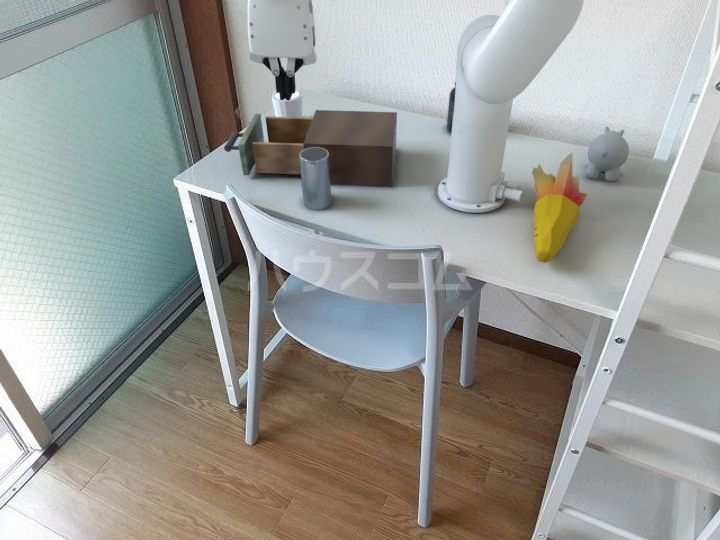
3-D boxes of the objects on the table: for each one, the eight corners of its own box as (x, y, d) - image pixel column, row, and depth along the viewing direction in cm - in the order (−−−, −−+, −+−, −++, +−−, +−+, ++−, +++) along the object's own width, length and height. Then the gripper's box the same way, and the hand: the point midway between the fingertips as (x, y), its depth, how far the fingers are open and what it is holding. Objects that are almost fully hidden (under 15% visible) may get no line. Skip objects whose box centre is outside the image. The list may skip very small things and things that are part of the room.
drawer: (222, 174, 114) (216, 143, 109) (240, 142, 124) (235, 112, 120) (321, 178, 112) (319, 146, 108) (330, 145, 122) (329, 115, 118)
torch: (530, 286, 94) (548, 191, 110) (580, 279, 89) (592, 181, 105) (512, 250, 89) (534, 157, 105) (564, 241, 85) (578, 145, 101)
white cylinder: (303, 130, 130) (300, 100, 125) (272, 130, 130) (269, 100, 126) (305, 117, 135) (303, 88, 131) (276, 117, 135) (273, 88, 131)
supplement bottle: (481, 135, 127) (489, 81, 119) (452, 138, 126) (457, 85, 118) (470, 121, 132) (476, 69, 124) (442, 124, 131) (446, 72, 123)
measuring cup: (306, 194, 109) (302, 146, 103) (333, 195, 109) (330, 147, 102) (300, 213, 104) (295, 164, 98) (328, 214, 104) (325, 165, 98)
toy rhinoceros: (626, 159, 118) (638, 120, 112) (618, 187, 109) (631, 147, 104) (590, 152, 120) (600, 113, 115) (579, 179, 112) (589, 139, 107)
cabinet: (306, 183, 112) (303, 143, 107) (318, 147, 123) (315, 109, 118) (391, 187, 111) (392, 146, 105) (395, 150, 122) (396, 112, 117)
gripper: (330, -27, 88) (333, 90, 99) (234, -30, 88) (247, 86, 100) (324, -14, 82) (327, 108, 94) (220, -18, 83) (237, 104, 94)
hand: (286, 96), depth 97 cm, fingers closed
